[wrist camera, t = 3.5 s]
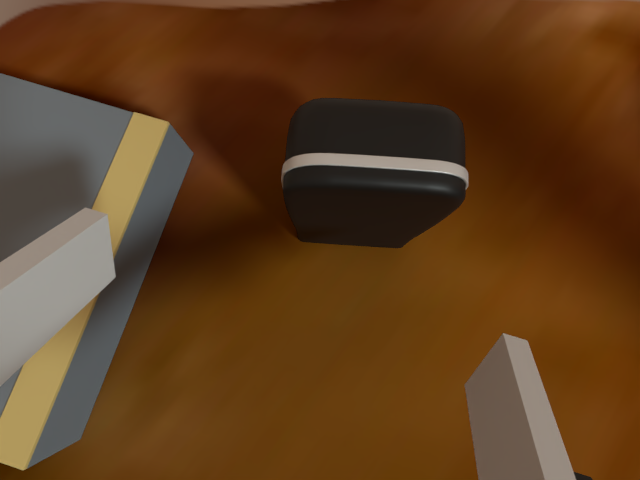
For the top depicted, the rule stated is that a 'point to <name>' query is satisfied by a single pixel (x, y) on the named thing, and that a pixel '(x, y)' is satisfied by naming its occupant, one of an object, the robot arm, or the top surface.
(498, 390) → the robot arm
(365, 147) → the battery charger
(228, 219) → the top surface
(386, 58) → the top surface
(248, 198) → the top surface
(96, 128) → the dock
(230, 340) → the top surface
